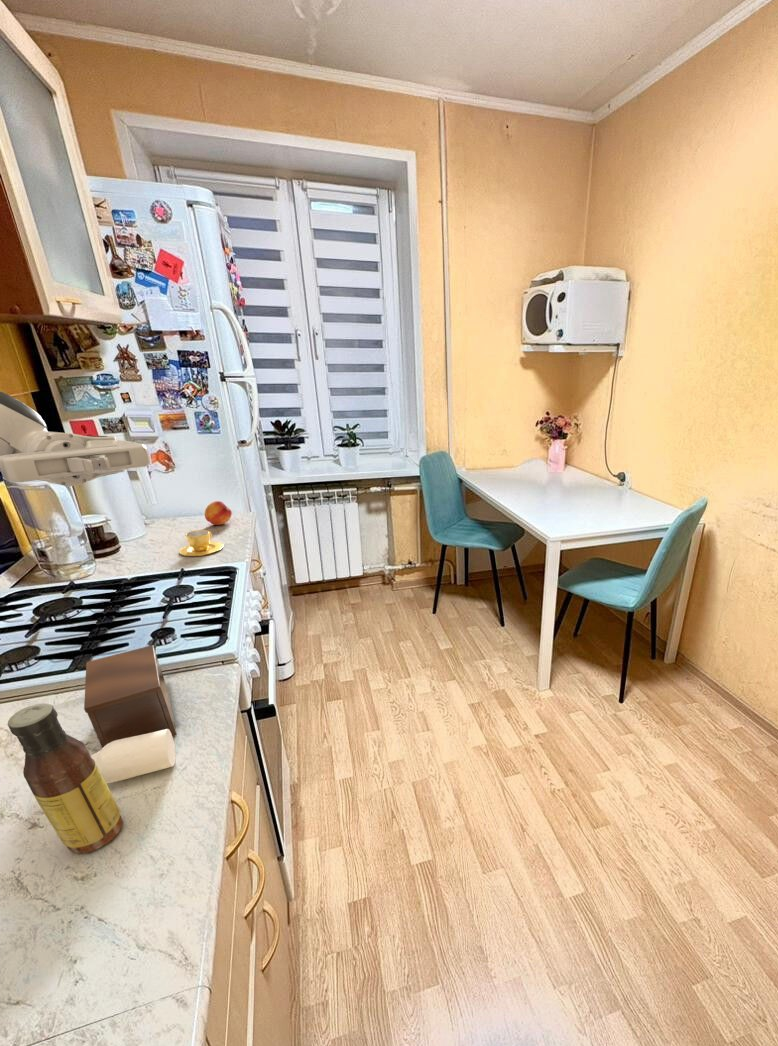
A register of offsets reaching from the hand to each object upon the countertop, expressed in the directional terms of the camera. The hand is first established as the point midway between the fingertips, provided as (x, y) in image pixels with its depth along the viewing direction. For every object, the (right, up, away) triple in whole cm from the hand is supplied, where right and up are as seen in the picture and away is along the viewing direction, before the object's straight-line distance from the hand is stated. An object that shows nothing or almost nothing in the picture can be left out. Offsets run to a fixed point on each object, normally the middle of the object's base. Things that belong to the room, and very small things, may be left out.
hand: (99, 464), depth 81 cm
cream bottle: (+9, -47, -6) cm, 48 cm away
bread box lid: (+4, -34, 0) cm, 34 cm away
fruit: (-30, +3, +98) cm, 103 cm away
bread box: (+4, -42, +4) cm, 42 cm away
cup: (-25, -7, +75) cm, 80 cm away
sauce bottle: (+11, -51, -16) cm, 55 cm away
